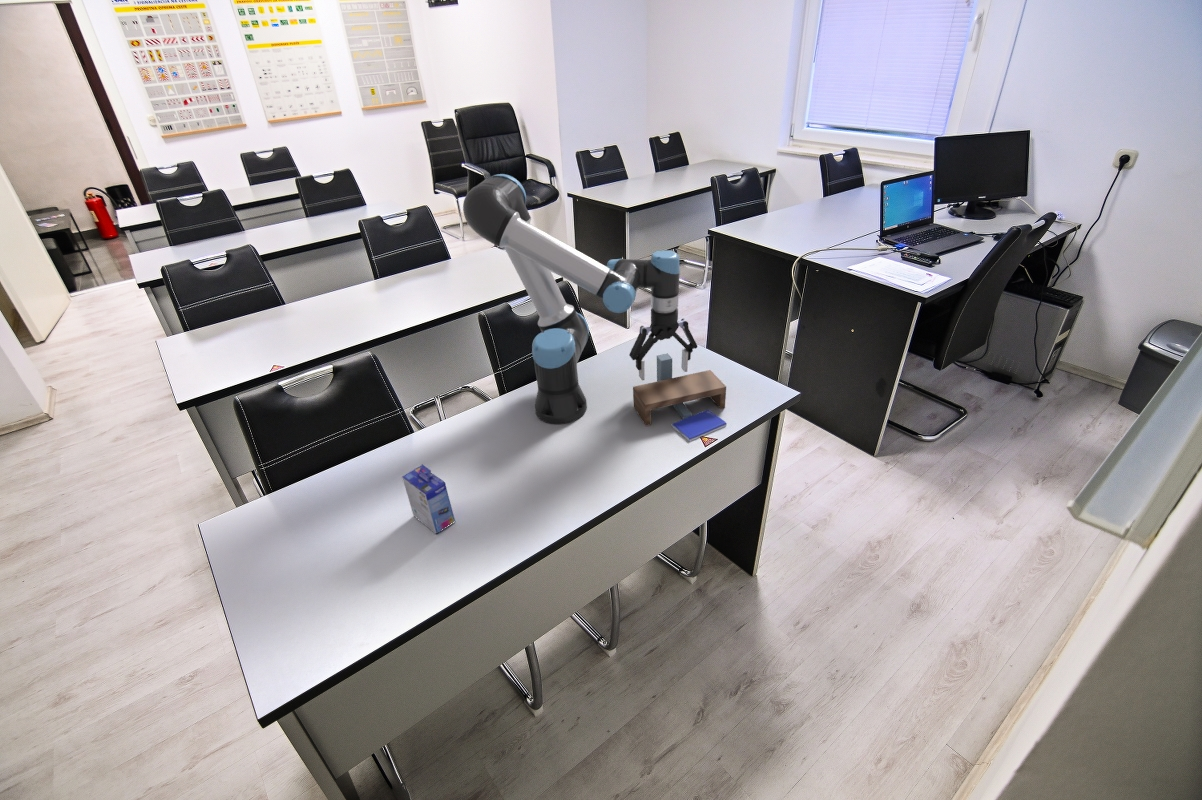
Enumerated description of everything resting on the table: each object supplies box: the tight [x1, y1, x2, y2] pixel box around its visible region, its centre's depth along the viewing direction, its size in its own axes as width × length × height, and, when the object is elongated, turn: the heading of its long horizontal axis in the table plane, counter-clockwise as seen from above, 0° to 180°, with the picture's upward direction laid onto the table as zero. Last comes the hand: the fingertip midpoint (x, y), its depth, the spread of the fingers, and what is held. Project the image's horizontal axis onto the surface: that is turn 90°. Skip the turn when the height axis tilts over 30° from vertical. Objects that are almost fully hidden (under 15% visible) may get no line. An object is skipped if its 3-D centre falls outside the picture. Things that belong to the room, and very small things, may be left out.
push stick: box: [656, 353, 693, 420], centre depth 162 cm, size 4×19×11 cm, turn 17°
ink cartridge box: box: [401, 464, 456, 534], centre depth 127 cm, size 10×6×14 cm, turn 48°
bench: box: [632, 369, 727, 427], centre depth 160 cm, size 24×10×7 cm, turn 107°
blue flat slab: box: [671, 409, 728, 442], centre depth 154 cm, size 2×8×12 cm
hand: (663, 373), depth 168 cm, fingers open, 13 cm apart
